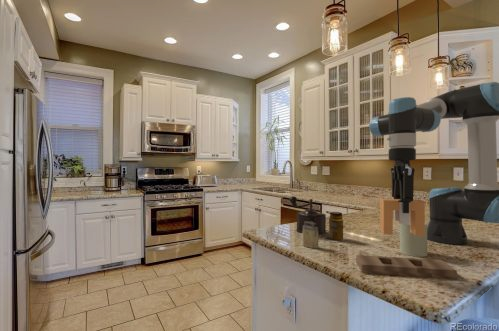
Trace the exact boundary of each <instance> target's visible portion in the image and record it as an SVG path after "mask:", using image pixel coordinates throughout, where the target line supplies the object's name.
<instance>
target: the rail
mask: <svg viewBox="0 0 499 331" xmlns="http://www.w3.org/2000/svg"><path fill="white" fill-rule="evenodd" d="M355 258H356V259H355V263H356V265H357V267H358V268H359V270H360V271H361V273H362V274H375V275H377V274H378V275H389V276H390V275H392V276H393V275H394V276H408V277H421V278H422V277H423V278H435V279H449V280H458V271H457V269H456V268H454V267H452V266H451V265H449V264H448V263H447V262H446V261H444V260H442V259H430V258H417V257H416V258H415V257H413V258H412V257H400V256H399V257H397V256H396V257H395V256H381V255H379V256H378V255H363V254H361V255H359V254H356V255H355Z"/></svg>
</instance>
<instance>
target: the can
mask: <svg viewBox="0 0 499 331" xmlns="http://www.w3.org/2000/svg"><path fill="white" fill-rule="evenodd" d="M428 224H429V223H427V222H425V236H416V235H414V234H412V233H411V232H410V224H400V223H399V252H400V253H401V254H403V255H405V256H409V257H413V258H415V257H416V258H417V257H418V258H424V257H428V256H429V254H428V239H427V226H428Z"/></svg>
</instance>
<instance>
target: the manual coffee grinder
mask: <svg viewBox="0 0 499 331" xmlns="http://www.w3.org/2000/svg"><path fill="white" fill-rule="evenodd" d="M297 200H298V198H297V196H295V195H294V196H290V197H289V199H288V201H289V202H290V203H291V205H290V206H291V207H296V208H298V209H299V208H305V210H303V211H301V212H296V232H298V233H301V234H303V226H304V222H306V221H308V222H313V223H316V225H314V227H318V235H321V234H326V233H327V230H326V229H327V227H326V226H327V224H326V222H327V220H326V219H327V218H326V217H327V216H326V213H323V212H318V211H317V210H315V209H313V199H312V198H310V199H309V202H308V203H306V204H303V205H298V204H297ZM308 206H309V208H306V207H308ZM308 225H309V226H310V224H308Z"/></svg>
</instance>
